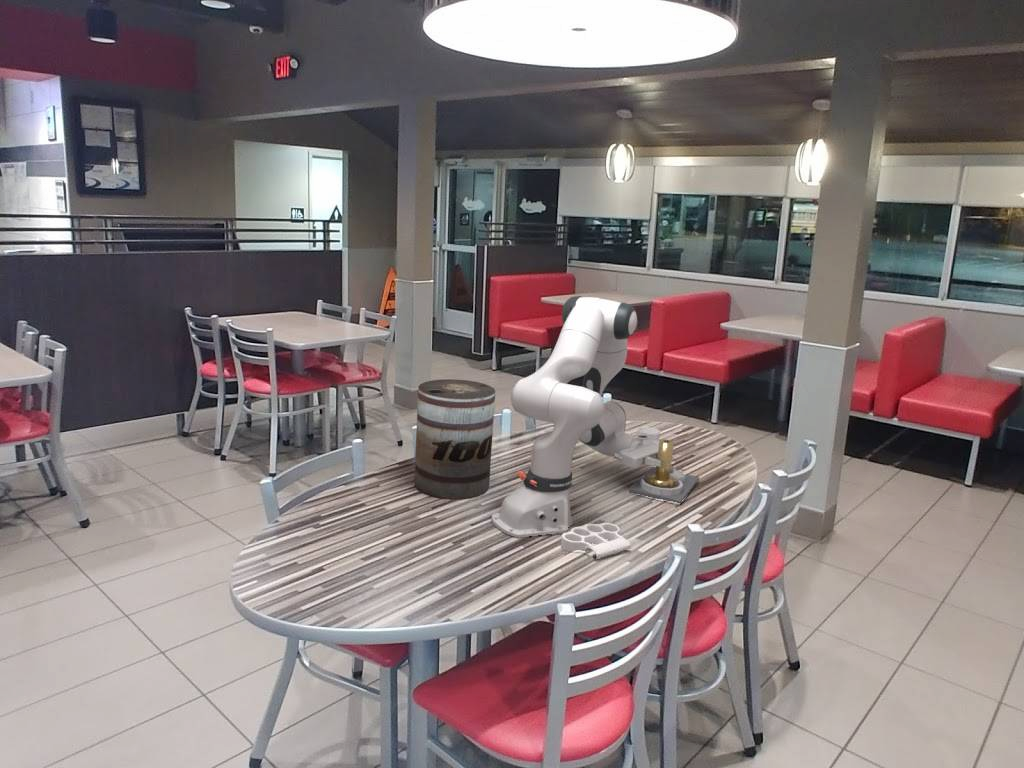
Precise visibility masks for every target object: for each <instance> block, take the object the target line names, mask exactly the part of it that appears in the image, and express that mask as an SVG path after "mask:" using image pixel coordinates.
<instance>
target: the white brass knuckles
mask: <svg viewBox="0 0 1024 768" xmlns="http://www.w3.org/2000/svg"><path fill="white" fill-rule="evenodd" d="M620 532H621V528H620V527H619V526H618V525H616V524H615V523H614V524H613V523H611V522H602V523H596V524H595V523H585V524H584V525H581V526H575V527H573V528H571V529H570V530H568V532H567V533H563V534H561V541H560V547H561V546H562V547H564V548H565V549H569V550H582V551H585V552H587V551H591V550H593V551H594V552H595V553H596V555H595V556H596V557H597V558H596V559H595V560H599V559H601V557H602V558H605V557H608V556H607V555H609V556H611V555H610V554H613V555H615V554H618V553H617V552H619V553H621V552H620V551H622V552H624V551H623V550H626V551H628V550H627V549H631V543H630V542H629V540H627V539H626V537H624V536H622V535H620ZM605 539H608V540H611V541H607V540H605ZM592 543H593V544H596V545H591V544H592ZM614 553H615V554H614ZM604 556H605V557H604ZM598 558H599V559H598Z"/></svg>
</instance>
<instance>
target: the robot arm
mask: <svg viewBox="0 0 1024 768" xmlns="http://www.w3.org/2000/svg"><path fill="white" fill-rule="evenodd" d="M561 321H562V325H563V326H562V328H561V330H560V333H559V336H558V338H557V341H556V344H555V345H554V348H553V350H552V353H551V354H550V356H549V357H548V359H547V361H546V362H545V363H544V364H543V365H542V366H541V367H540V368H539V369H537V370H536V371H535V372H533V373H532V374H530V375H528V376H525V377H523V378H521V379H519V380H518V381H517V382H516V383H515V385H514V386H513V388H512V390H511V394H510V401H511V405H512V408H513V410H514V411H515V412H516V413H518V414H520V415H522V416H524V417H527V418H528V419H532V420H538V421H541V422H546V423H551V424H553V429H552V432H548V433H545V434H543V435H541V436H538V437H537V438H536V439H535V440H534V441H533V443H532V445H531V456H530V457H531V459H530V468H529V469H528V470H527V471H528V472H527V473H525V472H523V471H522V470H519V471H518V472H517V473H516V476H517V478H518V479H520V480H522V481H523V483H521V484H520V485H519V486H518V487H517V488H516V489H514V490H513V491H512V492H511V493H509V494H508V495H507V496H506V497H504V498H503V501H502V502H501V503H502V504H501V507H500V512H496V513H493V514H491V522H492V524H493V525H494V527H496V528H497V529H498V530H500V531H501V532H503V533H504V534H506V535H509V536H510V535H511V537H513V536H514V537H513V538H517V537H521V538H530V537H529V536H532V537H539V536H538V535H542V536H547V535H546V534H552V535H557V534H556V533H565V532H568V531H569V528H570V526H572V524H573V518H572V512H571V498H570V493H571V491H570V490H571V487H572V482H573V472H572V467H573V466H572V464H573V460H574V459H573V458H574V453H575V449H576V446H577V443H578V441H580V442H581V443H582V444H584V445H586V446H588V447H589V448H590V449H592V450H594V451H595V452H597V453H600V454H602V455H604V456H607V457H613V458H614V459H616V460H618V461H617V462H618V463H620V464H621V465H624V466H626V467H628V468H631V469H637V468H640V467H644V466H654V467H656V466H658V467H660V466H662V465H663V464H662V463H663V461H662V460H660V459H657V456H658V448H659V441H660V440H659V441H657V440H654V439H650V437H649V436H646V435H644V436H637V435H634V434H630V433H626V432H625V431H626V427H627V414H626V412H625V409H624V408H623V407H622V405H620V404H619V403H618V402H615V401H613V400H612V401H611V400H609V401H606V402H604V400H603V397H602V395H603V392H604V390H605V388H606V387H607V385H608V384H609V383H610V382H611V380H613V378H614V377H615V376H616V375H618V373H619V372H620V371H622V370H623V368H624V366H625V364H626V361H627V356H628V339H629V338H631V337H632V336H633V335H634V332H635V330H636V327H637V326H638V325H637V323H638V312H637V310H636V309H635V307H634V306H633V305H631V304H630V303H626V302H620V301H619V302H618V301H615V300H611V299H605V298H602V297H592V296H589V297H587V296H585V297H584V296H582V295H579V296H578V295H575V296H574V295H573V296H571V297H569V298H568V299H567V300H566V301H565V303H564V305H563V307H562V311H561ZM580 377H583V378H582V379H583V380H582V386H580V385H574V384H569V383H570V381H573V380H574V379H575V380H576V379H578V378H580ZM673 462H674V457H673V456H672V462H671V463H673ZM568 527H569V528H568Z"/></svg>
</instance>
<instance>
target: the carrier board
mask: <svg viewBox="0 0 1024 768" xmlns="http://www.w3.org/2000/svg"><path fill="white" fill-rule="evenodd" d="M655 472H656V466H651V467H650V468H648V469H647V470H646V471H645V472H644V473H643V474H642V475H641V476H640V477H639V478H638V479H637V480H636V481H635V482H634V483H633V484H632V485H631V486H630V487H629V488H628V492H629V493H634V494H640V495H644V496H648V497H652V498H657V499H663V500H668V501H673V502H677V503H681V502H682V500H683V499H684V498H685V497H686V495H687V494H688V493H689V492H690V490H691V489H692V488H693V487H694V485H695V484H696V483H697V481H698V480H699V481H700V477H699V476H695V475H690V474H687V473H684V471H683V470H678V469H676V468H675V466H674V465H671V470H670V476H672V477H673V480H676V485H675V487H672V488H671V489H670V488H659V487H655V486H651V485H650V483H647V479H648V476H651V474H655ZM697 484H698V483H697ZM697 484H696V485H697ZM694 488H695V487H694ZM694 488H693V489H694ZM629 493H628V494H629ZM690 493H691V492H690ZM690 493H689V494H690ZM686 498H687V497H686ZM682 503H683V502H682Z"/></svg>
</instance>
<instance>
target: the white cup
mask: <svg viewBox="0 0 1024 768" xmlns="http://www.w3.org/2000/svg"><path fill="white" fill-rule="evenodd" d="M636 433H637V434H636V436H644V435H646V436H649V437H650V439H654V440H657V441H660V436H661V430H659V429H657V428H653V427H649V426H641V427H638V428H637V431H636Z"/></svg>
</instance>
